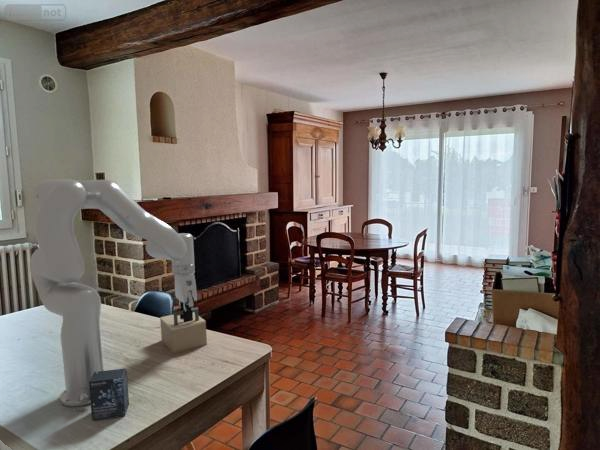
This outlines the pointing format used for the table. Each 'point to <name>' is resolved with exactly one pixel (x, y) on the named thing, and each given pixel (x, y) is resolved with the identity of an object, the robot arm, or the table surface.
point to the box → (109, 394)
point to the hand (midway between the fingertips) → (186, 319)
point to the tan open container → (184, 337)
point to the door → (177, 323)
